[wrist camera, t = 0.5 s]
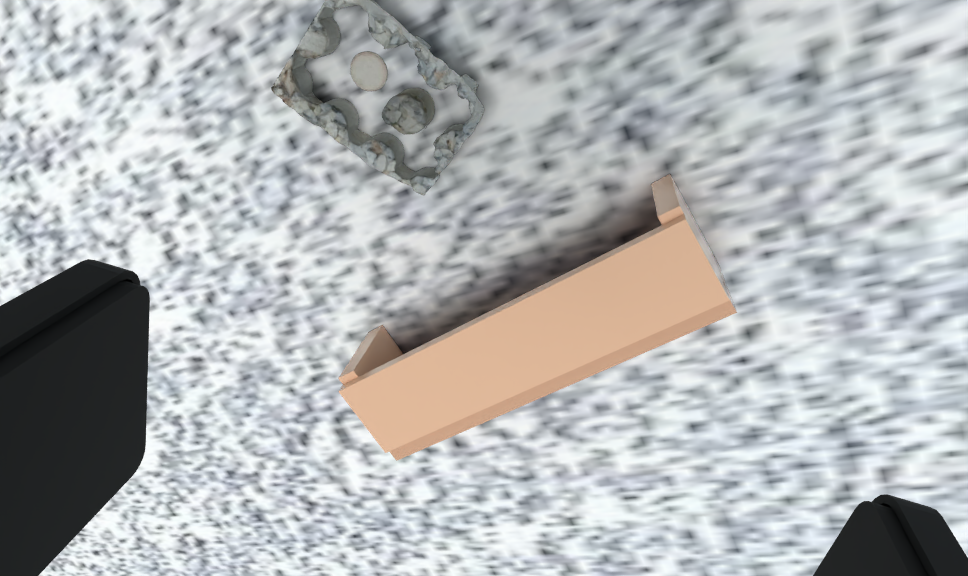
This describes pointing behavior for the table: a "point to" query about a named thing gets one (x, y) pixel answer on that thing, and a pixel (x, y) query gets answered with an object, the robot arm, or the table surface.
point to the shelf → (542, 336)
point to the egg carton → (371, 74)
